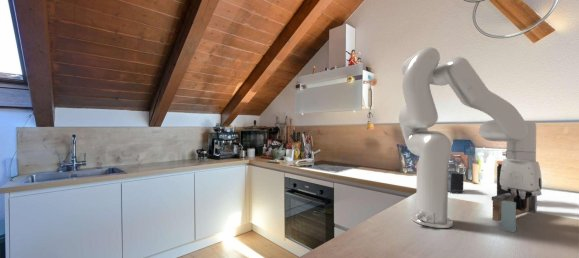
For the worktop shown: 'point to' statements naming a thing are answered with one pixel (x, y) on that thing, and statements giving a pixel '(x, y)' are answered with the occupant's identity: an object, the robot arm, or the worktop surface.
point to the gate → (507, 197)
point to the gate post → (533, 204)
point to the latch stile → (508, 216)
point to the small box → (455, 182)
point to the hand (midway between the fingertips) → (520, 209)
